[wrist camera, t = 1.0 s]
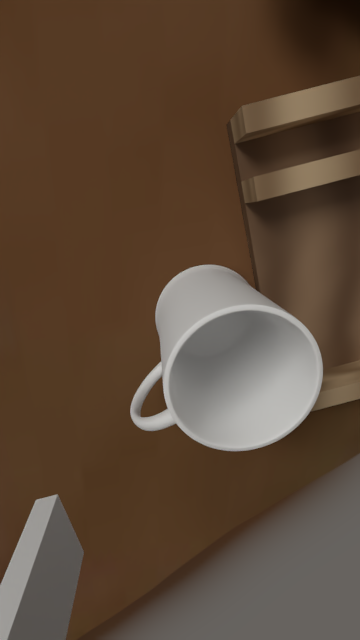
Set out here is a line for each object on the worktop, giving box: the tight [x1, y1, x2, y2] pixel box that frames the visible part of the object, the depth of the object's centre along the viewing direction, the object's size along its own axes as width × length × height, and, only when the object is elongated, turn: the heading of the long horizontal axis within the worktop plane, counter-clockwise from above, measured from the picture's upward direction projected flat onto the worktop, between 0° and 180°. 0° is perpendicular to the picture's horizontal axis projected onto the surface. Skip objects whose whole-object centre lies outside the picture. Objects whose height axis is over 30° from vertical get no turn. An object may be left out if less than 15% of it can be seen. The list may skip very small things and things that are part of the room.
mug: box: [130, 265, 323, 451], centre depth 22 cm, size 12×8×12 cm
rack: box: [227, 76, 360, 412], centre depth 25 cm, size 14×22×4 cm, turn 14°
